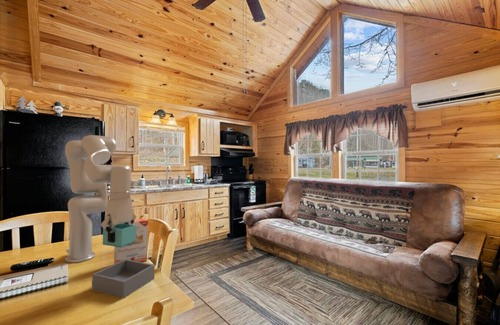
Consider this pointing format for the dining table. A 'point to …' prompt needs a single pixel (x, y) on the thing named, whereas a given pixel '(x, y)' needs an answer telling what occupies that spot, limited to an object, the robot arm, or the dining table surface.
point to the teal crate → (121, 235)
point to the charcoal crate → (123, 278)
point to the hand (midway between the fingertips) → (119, 239)
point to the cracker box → (135, 244)
